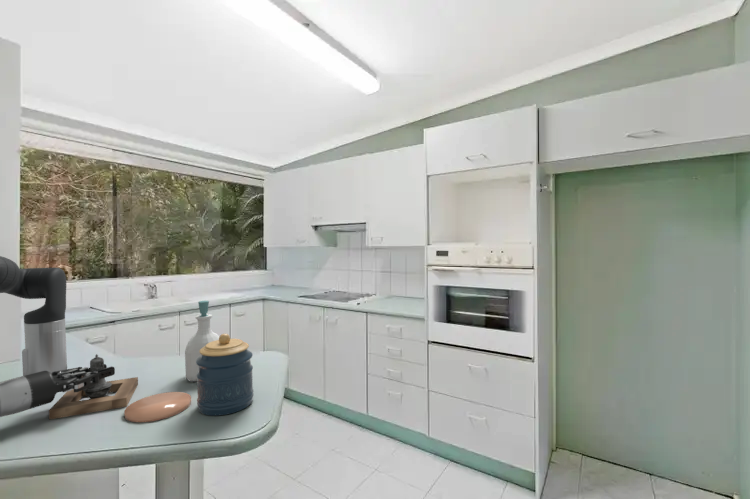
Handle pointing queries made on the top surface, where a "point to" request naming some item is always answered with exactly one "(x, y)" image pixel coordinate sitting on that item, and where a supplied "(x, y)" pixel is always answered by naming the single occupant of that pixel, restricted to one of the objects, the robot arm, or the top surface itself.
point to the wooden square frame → (94, 400)
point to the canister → (224, 377)
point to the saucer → (157, 407)
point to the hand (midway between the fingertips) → (109, 369)
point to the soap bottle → (198, 341)
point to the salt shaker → (102, 386)
